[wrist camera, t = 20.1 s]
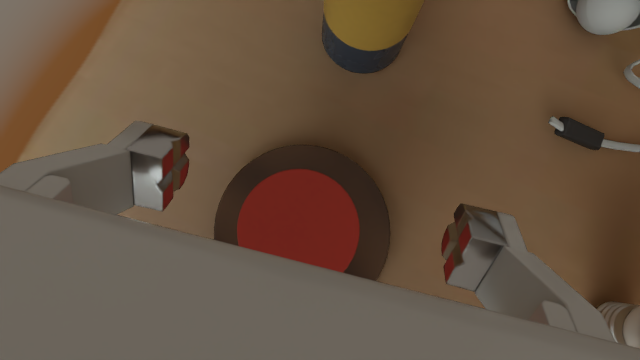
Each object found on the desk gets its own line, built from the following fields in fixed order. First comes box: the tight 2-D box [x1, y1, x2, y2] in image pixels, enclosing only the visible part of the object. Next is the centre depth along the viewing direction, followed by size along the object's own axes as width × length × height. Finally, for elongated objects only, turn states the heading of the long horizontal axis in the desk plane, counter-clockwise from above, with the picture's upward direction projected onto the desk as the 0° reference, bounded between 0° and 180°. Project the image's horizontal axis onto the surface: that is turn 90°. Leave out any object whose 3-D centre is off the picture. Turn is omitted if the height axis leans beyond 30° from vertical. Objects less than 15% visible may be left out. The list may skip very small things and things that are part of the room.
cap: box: [237, 169, 360, 273], centre depth 21 cm, size 6×6×5 cm
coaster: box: [214, 145, 390, 281], centre depth 24 cm, size 10×10×1 cm
